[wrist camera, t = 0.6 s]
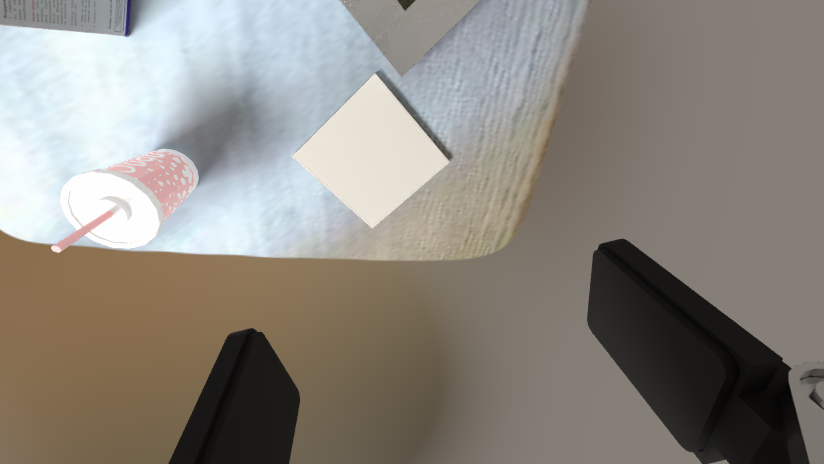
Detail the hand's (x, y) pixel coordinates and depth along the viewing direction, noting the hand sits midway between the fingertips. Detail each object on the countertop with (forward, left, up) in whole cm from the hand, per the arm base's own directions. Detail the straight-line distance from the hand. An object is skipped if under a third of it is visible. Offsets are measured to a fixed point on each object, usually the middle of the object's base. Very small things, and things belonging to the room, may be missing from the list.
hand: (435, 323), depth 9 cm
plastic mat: (+3, +1, -27) cm, 27 cm away
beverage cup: (+18, -11, -27) cm, 34 cm away
